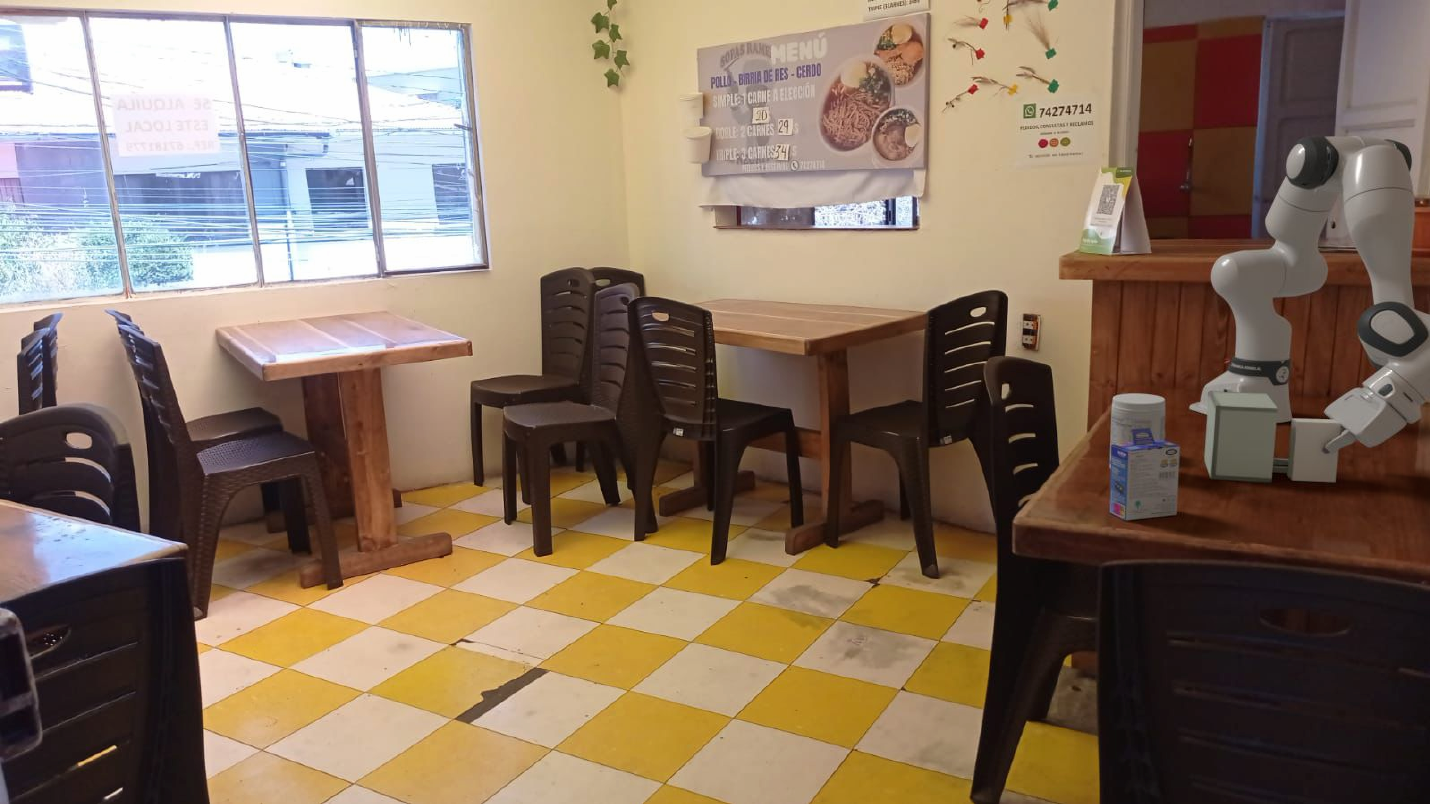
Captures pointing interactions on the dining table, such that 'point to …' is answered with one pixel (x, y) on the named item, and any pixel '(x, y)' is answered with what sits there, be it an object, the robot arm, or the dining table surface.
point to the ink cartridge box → (1144, 477)
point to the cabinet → (1241, 437)
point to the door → (1312, 450)
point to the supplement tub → (1136, 417)
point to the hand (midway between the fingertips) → (1322, 446)
